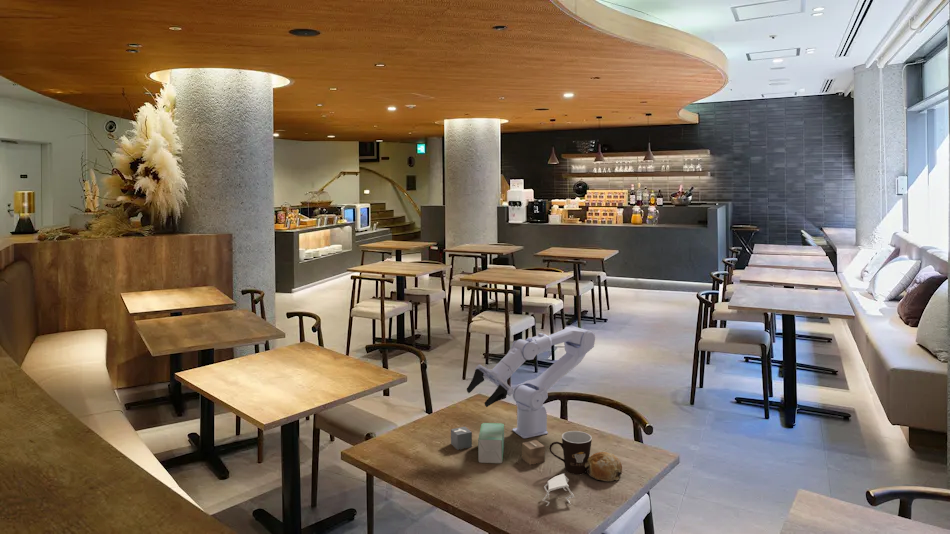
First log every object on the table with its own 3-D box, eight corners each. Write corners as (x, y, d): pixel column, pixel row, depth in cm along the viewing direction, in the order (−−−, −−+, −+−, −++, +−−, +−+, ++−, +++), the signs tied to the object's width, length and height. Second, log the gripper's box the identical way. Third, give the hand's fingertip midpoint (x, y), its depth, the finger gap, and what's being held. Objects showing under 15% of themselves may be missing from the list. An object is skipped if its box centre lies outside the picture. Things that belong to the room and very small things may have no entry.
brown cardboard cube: (535, 455, 192) (536, 439, 191) (544, 461, 188) (544, 445, 187) (521, 458, 190) (521, 442, 189) (530, 465, 186) (530, 448, 185)
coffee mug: (593, 465, 185) (594, 433, 184) (588, 478, 177) (589, 445, 176) (554, 459, 189) (555, 428, 188) (548, 472, 181) (548, 439, 180)
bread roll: (606, 496, 174) (620, 475, 171) (576, 471, 178) (589, 451, 175) (618, 481, 182) (632, 461, 179) (589, 458, 187) (602, 438, 184)
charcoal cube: (465, 441, 202) (464, 425, 202) (471, 447, 198) (471, 431, 197) (450, 444, 200) (450, 428, 199) (457, 450, 196) (457, 434, 195)
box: (504, 444, 200) (504, 422, 199) (502, 463, 187) (502, 440, 186) (481, 443, 201) (481, 421, 199) (478, 463, 187) (477, 439, 186)
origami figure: (573, 511, 160) (573, 493, 159) (540, 507, 162) (540, 489, 162) (578, 489, 172) (578, 472, 171) (547, 485, 174) (547, 468, 173)
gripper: (487, 349, 200) (458, 378, 195) (521, 374, 193) (492, 405, 187) (489, 361, 206) (461, 389, 200) (523, 385, 198) (494, 416, 193)
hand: (476, 398), depth 194 cm, fingers open, 7 cm apart
